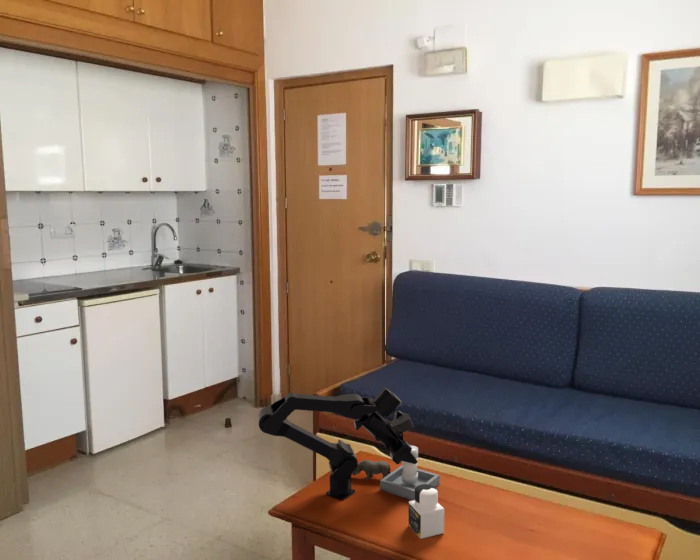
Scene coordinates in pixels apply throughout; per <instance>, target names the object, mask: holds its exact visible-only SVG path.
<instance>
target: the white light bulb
mask: <svg viewBox="0 0 700 560" xmlns="http://www.w3.org/2000/svg"><path fill="white" fill-rule="evenodd" d="M410 446H411V448H412V450H411V453H412V454H413V456H414V457H415V458H416V460H417V461H418V458H419V447H418V446H415V445H412V444H410ZM402 465H403V471H402V481H403V482H404V483H407V484H414V483H416V482H418V472H417V469H418V462H417V463H416V464H412V463H408V462H404V461H402Z"/></svg>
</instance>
